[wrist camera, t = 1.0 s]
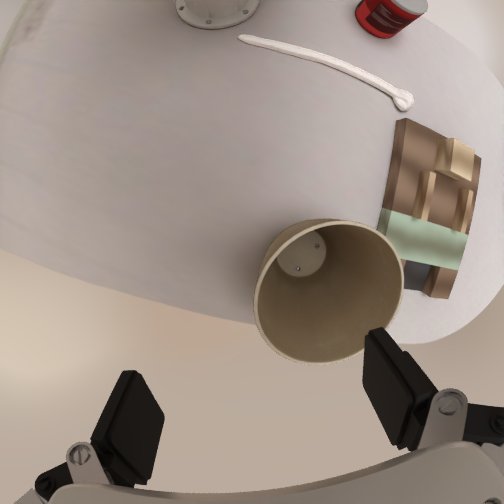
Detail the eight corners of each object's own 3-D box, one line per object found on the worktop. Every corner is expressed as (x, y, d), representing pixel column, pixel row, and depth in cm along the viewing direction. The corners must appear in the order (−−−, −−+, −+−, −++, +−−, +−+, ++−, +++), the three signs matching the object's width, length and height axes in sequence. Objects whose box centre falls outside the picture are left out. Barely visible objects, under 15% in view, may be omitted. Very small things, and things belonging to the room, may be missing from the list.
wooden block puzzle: (396, 120, 34) (415, 115, 29) (470, 157, 36) (490, 158, 30) (362, 282, 41) (376, 296, 36) (439, 292, 43) (455, 304, 37)
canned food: (381, 3, 28) (410, -25, 17) (402, 38, 30) (437, 15, 19) (345, 3, 28) (370, -30, 18) (367, 40, 30) (400, 12, 20)
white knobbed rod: (232, 55, 31) (231, 47, 29) (239, 33, 30) (239, 24, 28) (406, 117, 34) (416, 114, 32) (410, 96, 33) (419, 92, 31)
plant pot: (232, 279, 40) (228, 342, 25) (274, 183, 36) (298, 190, 21) (321, 312, 42) (355, 377, 27) (365, 226, 39) (427, 259, 23)
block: (438, 139, 32) (454, 138, 28) (458, 150, 32) (474, 150, 29) (434, 169, 33) (450, 170, 30) (454, 179, 34) (471, 181, 30)
